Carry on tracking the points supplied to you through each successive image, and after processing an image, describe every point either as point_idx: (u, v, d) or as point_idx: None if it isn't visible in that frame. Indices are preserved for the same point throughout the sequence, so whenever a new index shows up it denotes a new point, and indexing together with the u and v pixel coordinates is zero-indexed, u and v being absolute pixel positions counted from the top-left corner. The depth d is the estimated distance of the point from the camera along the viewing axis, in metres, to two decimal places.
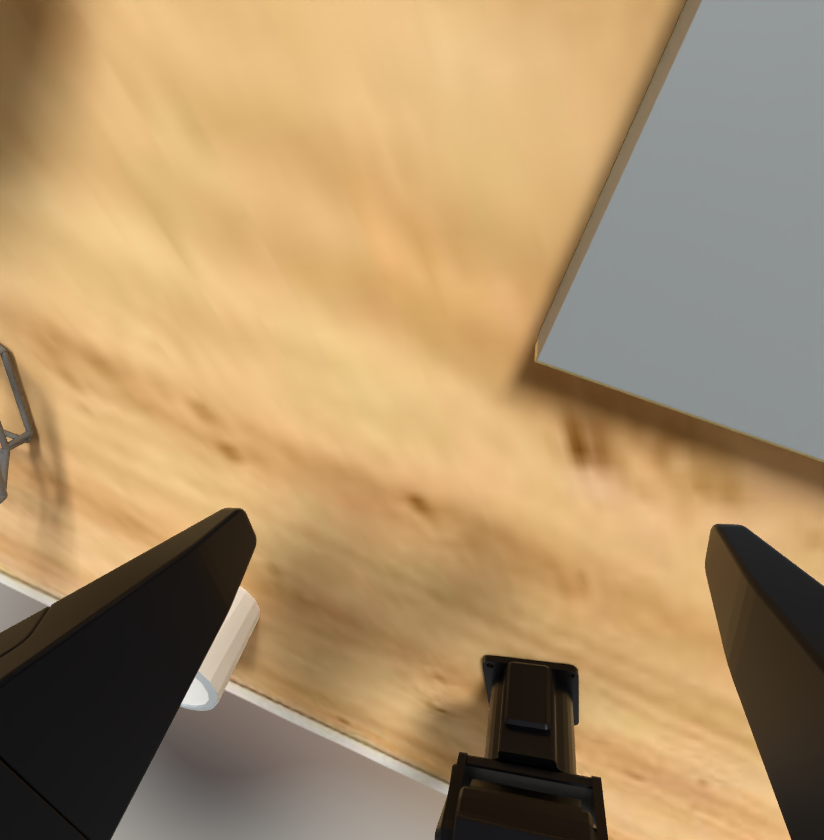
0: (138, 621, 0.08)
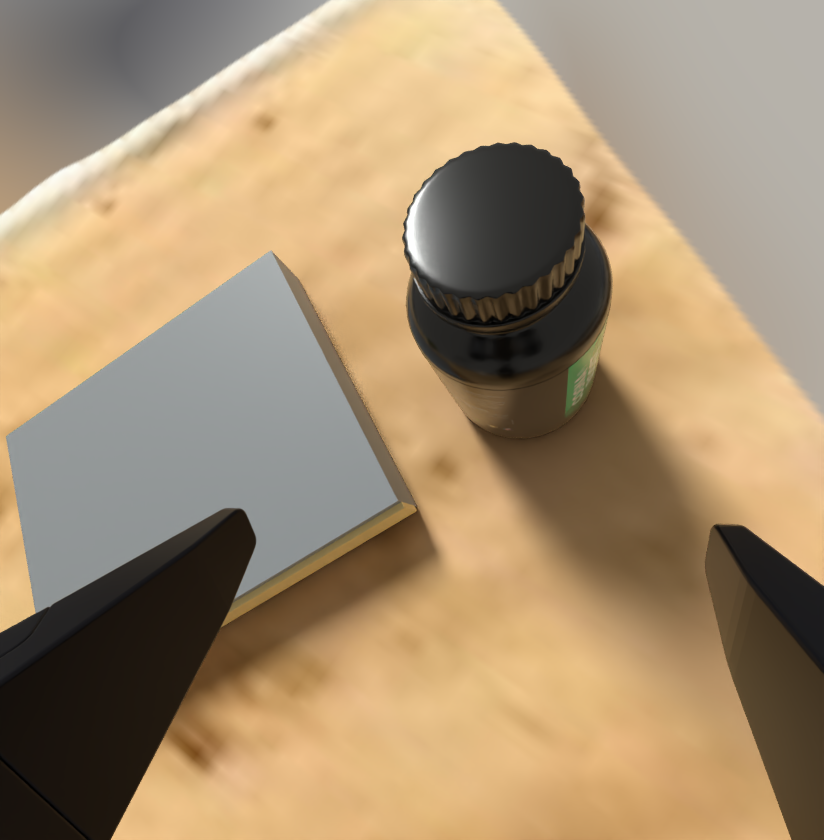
0: (138, 621, 0.08)
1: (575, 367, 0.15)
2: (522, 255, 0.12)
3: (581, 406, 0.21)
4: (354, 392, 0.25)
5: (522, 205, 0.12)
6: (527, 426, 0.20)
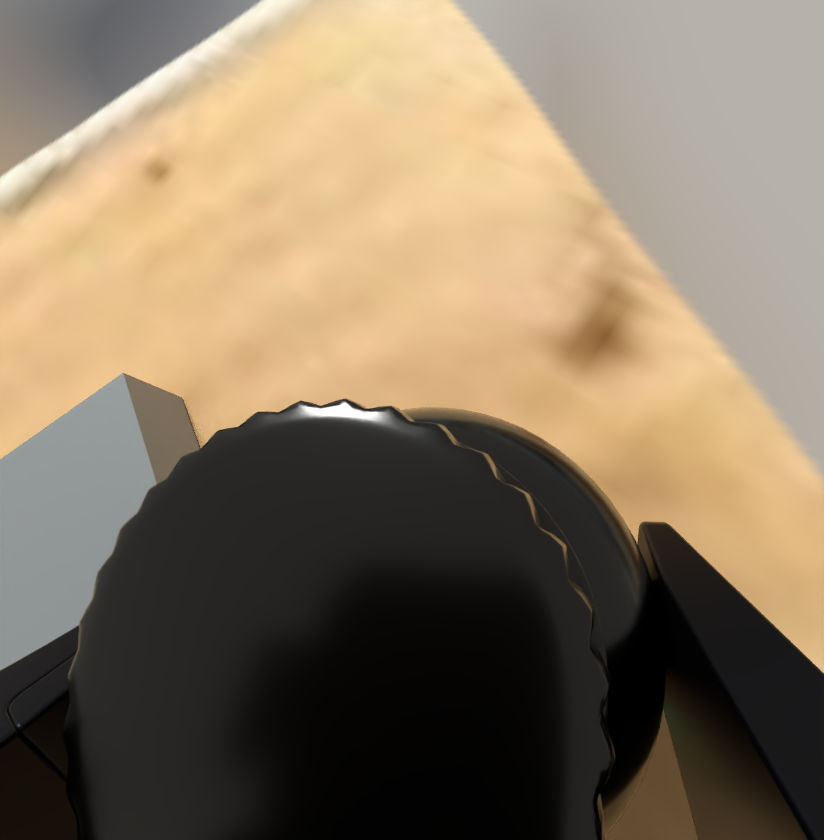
0: None
1: None
2: None
3: None
4: None
5: (396, 666, 0.04)
6: None
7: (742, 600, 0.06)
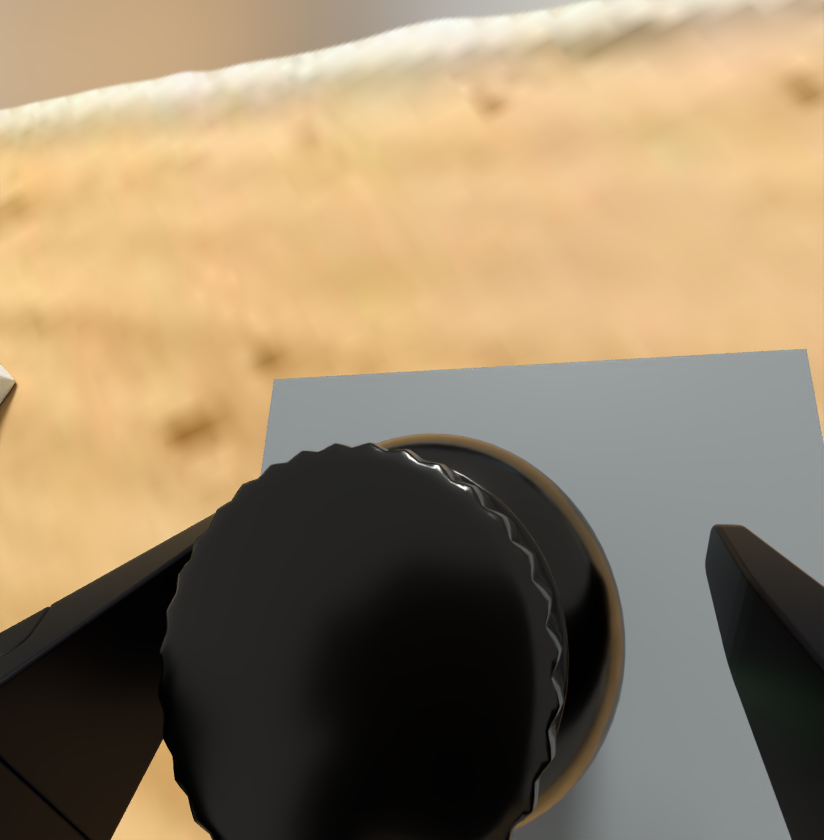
0: (138, 621, 0.08)
1: None
2: (403, 804, 0.04)
3: None
4: None
5: (410, 641, 0.05)
6: None
7: None
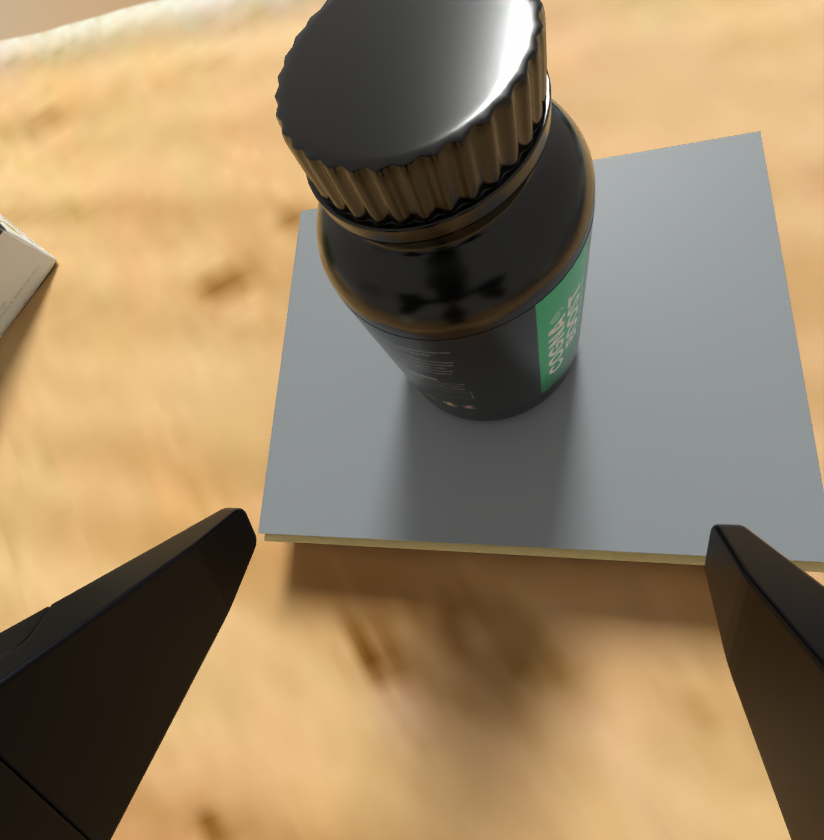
0: (138, 621, 0.08)
1: (546, 306, 0.11)
2: (447, 97, 0.07)
3: (563, 378, 0.17)
4: None
5: (448, 27, 0.08)
6: (493, 402, 0.15)
7: None
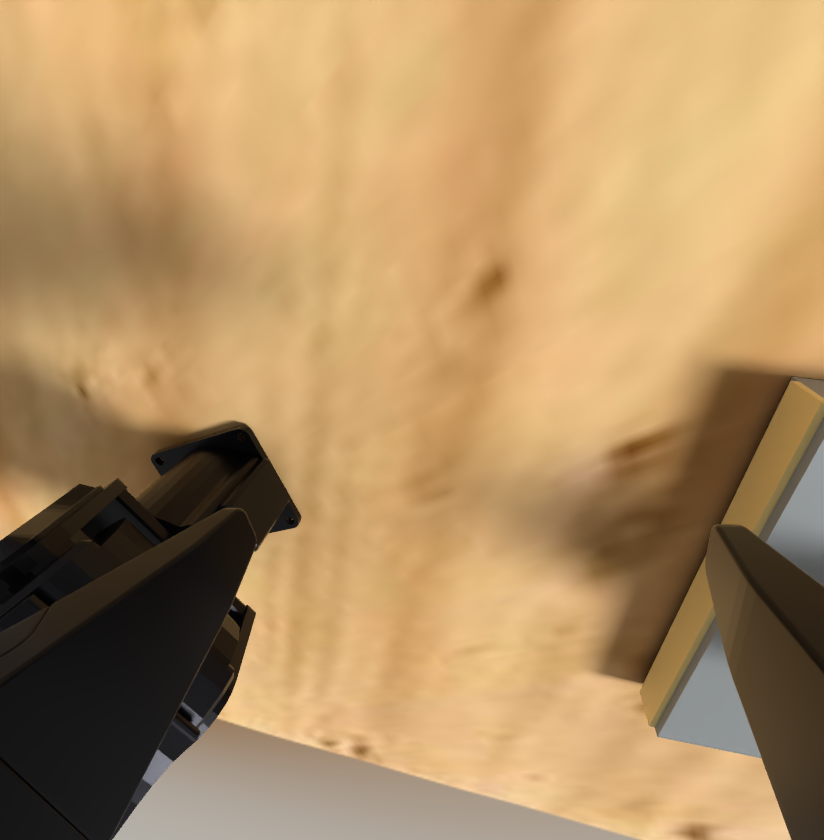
0: (138, 621, 0.08)
1: None
2: None
3: None
4: None
5: None
6: None
7: None
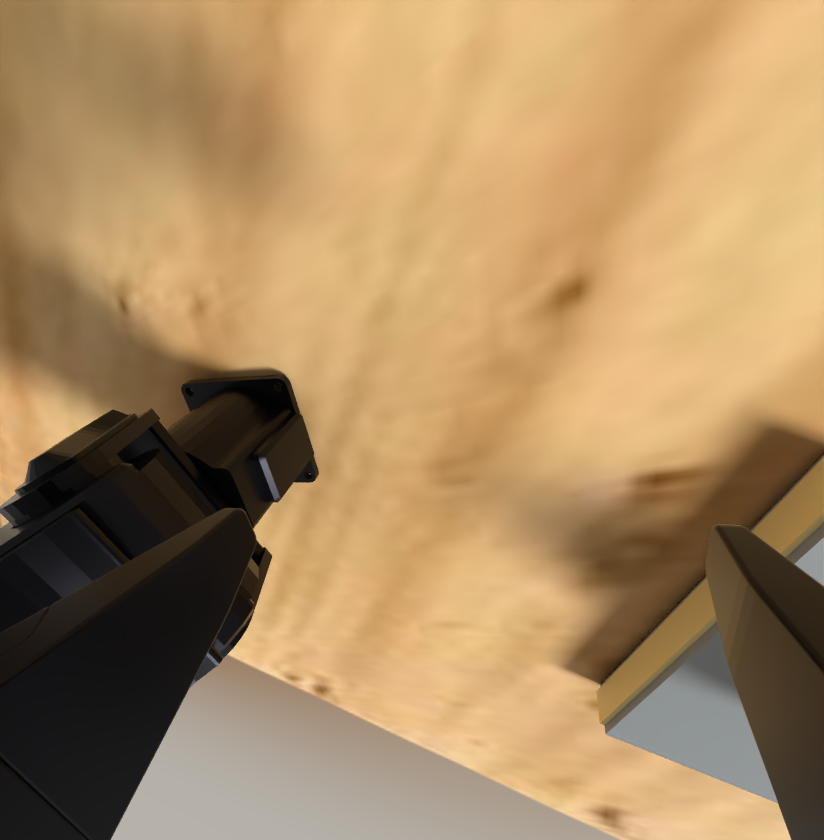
0: (138, 621, 0.08)
1: None
2: None
3: None
4: None
5: None
6: None
7: None
